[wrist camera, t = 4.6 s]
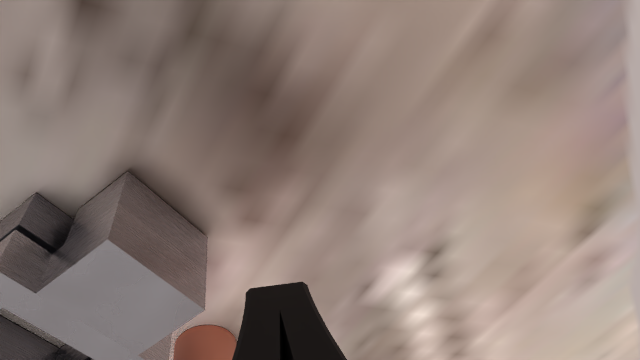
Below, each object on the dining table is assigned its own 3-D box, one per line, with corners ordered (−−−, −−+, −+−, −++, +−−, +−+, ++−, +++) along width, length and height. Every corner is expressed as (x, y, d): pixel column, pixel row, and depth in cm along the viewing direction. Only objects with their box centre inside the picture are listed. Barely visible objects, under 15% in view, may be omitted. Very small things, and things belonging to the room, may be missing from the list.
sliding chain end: (61, 375, 25) (35, 459, 21) (-90, 295, 21) (-150, 382, 18) (231, 257, 23) (232, 330, 19) (96, 144, 19) (67, 210, 15)
